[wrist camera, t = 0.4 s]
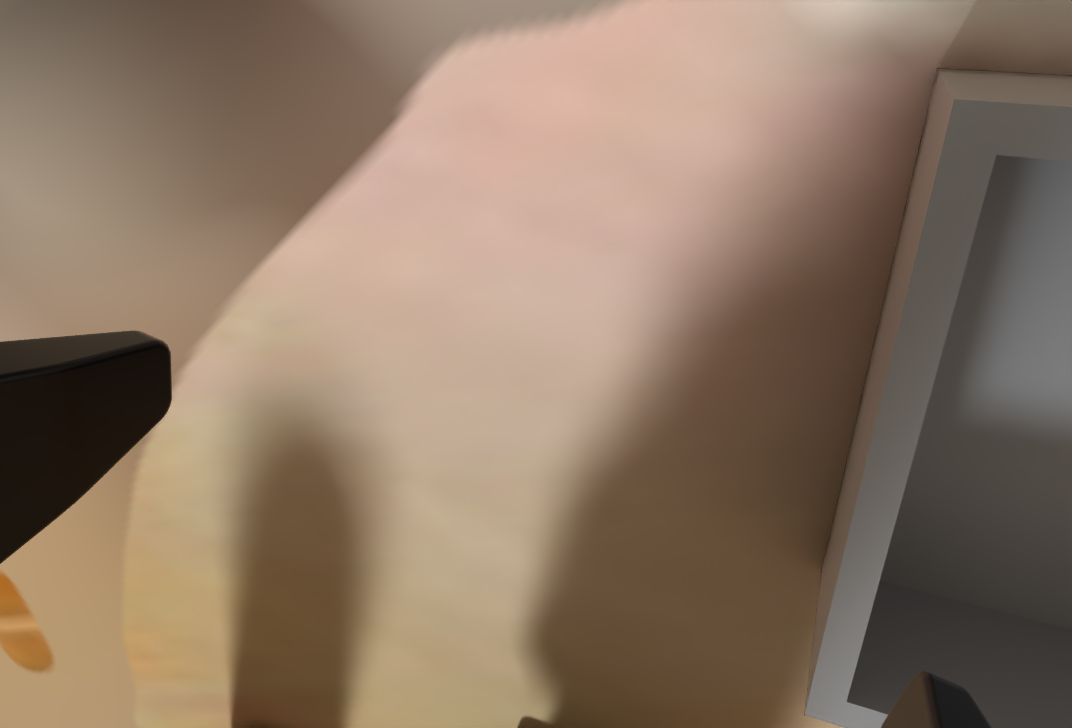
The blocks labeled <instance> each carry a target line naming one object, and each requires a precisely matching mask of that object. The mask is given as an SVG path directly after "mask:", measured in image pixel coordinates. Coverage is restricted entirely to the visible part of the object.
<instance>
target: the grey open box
mask: <svg viewBox="0 0 1072 728" xmlns="http://www.w3.org/2000/svg"><path fill="white" fill-rule="evenodd" d="M924 671H927V672H930V673H932V674H934V675H937V676H939V677H941V678H944V679H946V680H948V681H951V682H953V683H955V684H958V685H960V686H962V687H963V688H965V689H966V690H967V691H968V692H969V694H970V695H971V696H972V698H973V699H974V701H975V703H976V704H977V706H978V707H979V709H980V710H981V712H982V713H983V715H984V716H985V718H986V720H987V721H988V723H989V724H990V726H991V727H992V728H1072V75H1054V74H1036V73H1018V72H1000V71H982V70H963V69H945V68H937V71H936V76H935V80H934V84H933V89H932V93H931V97H930V102H929V106H928V110H927V115H926V119H925V123H924V128H923V132H922V136H921V141H920V145H919V149H918V154H917V158H916V162H915V167H914V171H913V175H912V180H911V184H910V188H909V193H908V197H907V201H906V206H905V210H904V214H903V219H902V223H901V228H900V232H899V236H898V241H897V245H896V249H895V254H894V258H893V262H892V267H891V271H890V275H889V280H888V284H887V288H886V293H885V297H884V301H883V306H882V310H881V314H880V319H879V323H878V327H877V332H876V336H875V340H874V345H873V349H872V353H871V358H870V362H869V366H868V371H867V375H866V379H865V384H864V388H863V393H862V397H861V401H860V406H859V410H858V414H857V419H856V423H855V427H854V432H853V436H852V440H851V445H850V449H849V453H848V458H847V462H846V466H845V471H844V475H843V479H842V484H841V488H840V492H839V497H838V501H837V505H836V510H835V514H834V518H833V523H832V527H831V531H830V536H829V540H828V544H827V549H826V553H825V557H824V562H823V566H822V571H821V578H820V587H819V595H818V604H817V612H816V621H815V629H814V638H813V646H812V655H811V663H810V671H809V680H808V688H807V697H806V705H805V714H804V715H806V716H809V717H812V718H816V719H819V720H822V721H825V722H828V723H831V724H835V725H838V726H841V727H844V728H881V726H882V724H883V722H884V721H885V719H886V718H887V716H888V714H889V713H890V711H891V710H892V708H893V707H894V705H895V704H896V702H897V701H898V699H899V698H900V696H901V694H902V693H903V691H904V690H905V688H906V687H907V685H908V684H909V682H910V681H911V679H912V678H913V677H914V676H915V675H916V674H917V673H919V672H924Z"/></svg>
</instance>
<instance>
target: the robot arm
mask: <svg viewBox="0 0 1072 728" xmlns="http://www.w3.org/2000/svg"><path fill="white" fill-rule="evenodd" d="M171 400H172V381H171V352H170V350H169V347H168V345H167V344H166V343H165V342H163V341H162V340H160V339H157V338H155V337H153V336H150V335H148V334H146V333H143V332H140V331H122V332H112V333H111V332H110V333H99V334H87V335H75V336H64V337H52V338H40V339H29V340H17V341H5V342H0V564H1V563H2V562H3V561H4V560H6V559H7V558H8V557H9V556H11V555H12V554H13V553H14V552H15V551H17V550H18V549H19V548H21V546H23V545H24V544H25V543H27V542H28V541H29V540H30V539H32V538H33V537H34V536H35V535H36V534H38V533H39V532H40V531H42V530H43V529H44V528H45V527H47V526H48V525H49V524H50V523H51V522H52V521H54V520H55V519H56V518H58V517H59V516H60V515H61V514H62V513H64V512H65V511H66V510H67V509H68V508H70V507H71V506H72V505H73V504H74V503H75V502H76V501H78V500H79V499H80V498H81V497H82V496H83V495H84V494H85V493H86V492H87V491H88V490H89V489H90V488H91V487H93V485H94V484H96V483H97V482H98V481H99V480H100V479H101V478H102V477H103V476H104V475H105V474H106V473H107V472H108V471H109V470H110V469H111V468H112V467H113V466H114V465H115V464H116V463H117V462H118V461H119V460H120V459H121V458H122V457H123V456H124V455H125V454H126V453H127V452H128V451H130V449H132V447H134V446H135V445H136V444H137V443H138V442H139V441H140V440H141V439H142V438H143V437H144V436H145V435H146V434H147V433H148V432H149V431H150V430H151V429H152V428H153V427H154V426H155V425H156V424H157V423H158V422H159V421H160V420H161V419H162V418H163V417H164V416H165V414H166V413H167V411H168V409H169V407H170V404H171ZM881 728H992V727H991V726H990V724H989V723H988V721H987V720H986V718H985V716H984V715H983V713H982V712H981V710H980V709H979V707H978V706H977V704H976V703H975V701H974V699H973V698H972V696H971V695H970V694H969V692H968V691H967V690H966V689H965V688H963V687H962V686H960V685H958V684H955V683H953V682H951V681H948V680H946V679H944V678H941V677H939V676H937V675H934V674H932V673H930V672H927V671H924V672H919V673H917V674H916V675H915V676H914V677H913V678H912V679H911V681H910V682H909V684H908V685H907V687H906V688H905V690H904V691H903V693H902V694H901V696H900V698H899V699H898V701H897V702H896V704H895V705H894V707H893V708H892V710H891V711H890V713H889V714H888V716H887V718H886V719H885V721H884V722H883V724H882V726H881Z"/></svg>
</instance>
